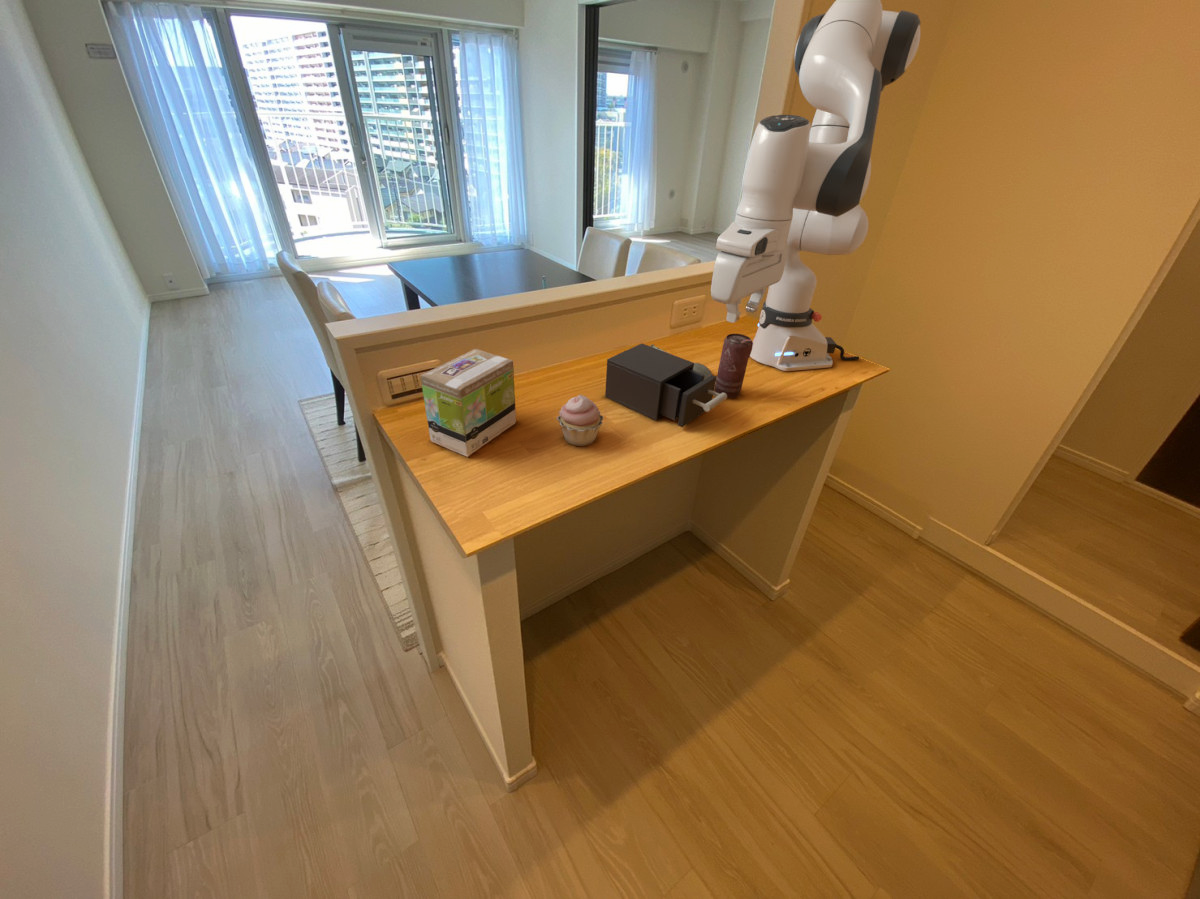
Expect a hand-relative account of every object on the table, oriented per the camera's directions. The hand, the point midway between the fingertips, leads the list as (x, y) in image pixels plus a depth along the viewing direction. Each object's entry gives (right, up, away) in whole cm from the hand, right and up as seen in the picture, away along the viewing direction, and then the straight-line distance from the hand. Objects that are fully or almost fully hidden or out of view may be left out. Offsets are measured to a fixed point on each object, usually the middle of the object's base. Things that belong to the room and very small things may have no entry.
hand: (741, 316), depth 89 cm
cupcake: (-30, -22, +11) cm, 39 cm away
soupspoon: (-5, -2, +40) cm, 41 cm away
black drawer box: (-15, -12, +25) cm, 32 cm away
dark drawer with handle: (-8, -15, +20) cm, 26 cm away
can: (+5, -11, +29) cm, 31 cm away
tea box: (-51, -21, +11) cm, 56 cm away
